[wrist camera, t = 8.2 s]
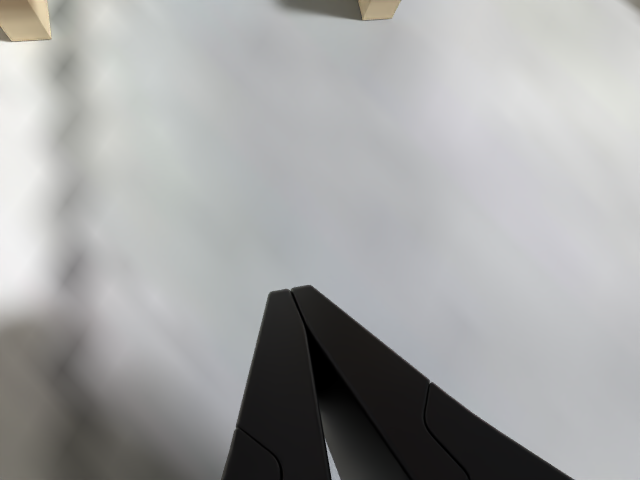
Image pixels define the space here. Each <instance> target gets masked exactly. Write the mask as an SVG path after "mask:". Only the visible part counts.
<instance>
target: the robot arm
mask: <svg viewBox="0 0 640 480" xmlns="http://www.w3.org/2000/svg"><path fill="white" fill-rule="evenodd" d="M325 439H326V442H327V445H328V447H329V450H330V452H331V455H332V458H333V460H334V463H335V466H336V468H337V471H338V474H339V476H340V479H341V480H574V479H573V478H571V477H569V476H568V475H566V474H565V473H563V472H562V471H560V470H558V469H557V468H555V467H554V466H552V465H551V464H549V463H548V462H546V461H545V460H543V459H542V458H540V457H538V456H537V455H535V454H534V453H532V452H531V451H529V450H528V449H526V448H525V447H523V446H521V445H520V444H518V443H517V442H515V441H514V440H512V439H511V438H509V437H508V436H506V435H505V434H503V433H501V432H500V431H498V430H497V429H496V428H494V427H493V426H491V425H490V424H488V423H487V422H485V421H484V420H482V419H481V418H479V417H478V416H476V415H475V414H474V413H472V412H471V411H469V410H468V409H467V408H465V407H464V406H463V405H462V404H460V403H459V402H458V401H456V400H455V399H454V398H452V397H451V396H450V395H448V394H447V393H446V392H444V391H443V390H442V389H441V388H439V387H438V386H437V385H436V384H434V383H433V382H431V383H430V380H429V379H428V378H427V377H425V376H424V375H423V374H422V373H420V372H419V371H418V370H417V369H415V368H414V367H413V366H412V365H410V364H409V363H408V362H407V361H405V360H404V359H403V358H402V357H400V356H399V355H398V354H397V353H395V352H394V351H393V350H392V349H390V348H389V347H388V346H387V345H385V344H384V343H383V342H382V341H380V340H379V339H378V338H377V337H375V336H374V335H373V334H372V333H370V332H369V331H368V330H367V329H365V328H364V327H363V326H362V325H360V324H359V323H358V322H357V321H355V320H354V319H353V318H352V317H350V316H349V315H348V314H347V313H345V312H344V311H343V310H342V309H340V308H339V307H338V306H337V305H335V304H334V303H333V302H332V301H330V300H329V299H328V298H326V297H325V296H324V295H323V294H321V293H320V292H319V291H318V290H316V289H315V288H314V287H313V286H311V285H305V286H300V287H294V288H292V289H291V291H290V290H289V289H283V290H277V291H272V292H270V293H269V295H268V298H267V302H266V307H265V311H264V315H263V319H262V323H261V327H260V331H259V335H258V339H257V343H256V347H255V351H254V355H253V359H252V363H251V367H250V371H249V375H248V379H247V383H246V387H245V391H244V395H243V399H242V403H241V407H240V411H239V415H238V419H237V423H236V429H235V431H234V434H233V438H232V442H231V446H230V450H229V454H228V457H227V461H226V464H225V468H224V471H223V474H222V478H221V480H332V479H331V473H330V467H329V461H328V455H327V449H326V443H325Z"/></svg>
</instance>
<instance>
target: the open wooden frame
mask: <svg viewBox="0 0 640 480" xmlns="http://www.w3.org/2000/svg"><path fill="white" fill-rule="evenodd" d="M358 2H359V6H360V11H361V15H362V20H374V19H390V18H392V17H393V15H394V13H395V11H396V9H397V7H398V5H399V3H400V2H401V0H358ZM0 26H1V28H2V29H3V30H4V32H5V33H6V34H7V36H8V37H9V38H10V40H11V41H28V40H44V39H51V30H50V22H49V13H48V4H47V0H0Z"/></svg>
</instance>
